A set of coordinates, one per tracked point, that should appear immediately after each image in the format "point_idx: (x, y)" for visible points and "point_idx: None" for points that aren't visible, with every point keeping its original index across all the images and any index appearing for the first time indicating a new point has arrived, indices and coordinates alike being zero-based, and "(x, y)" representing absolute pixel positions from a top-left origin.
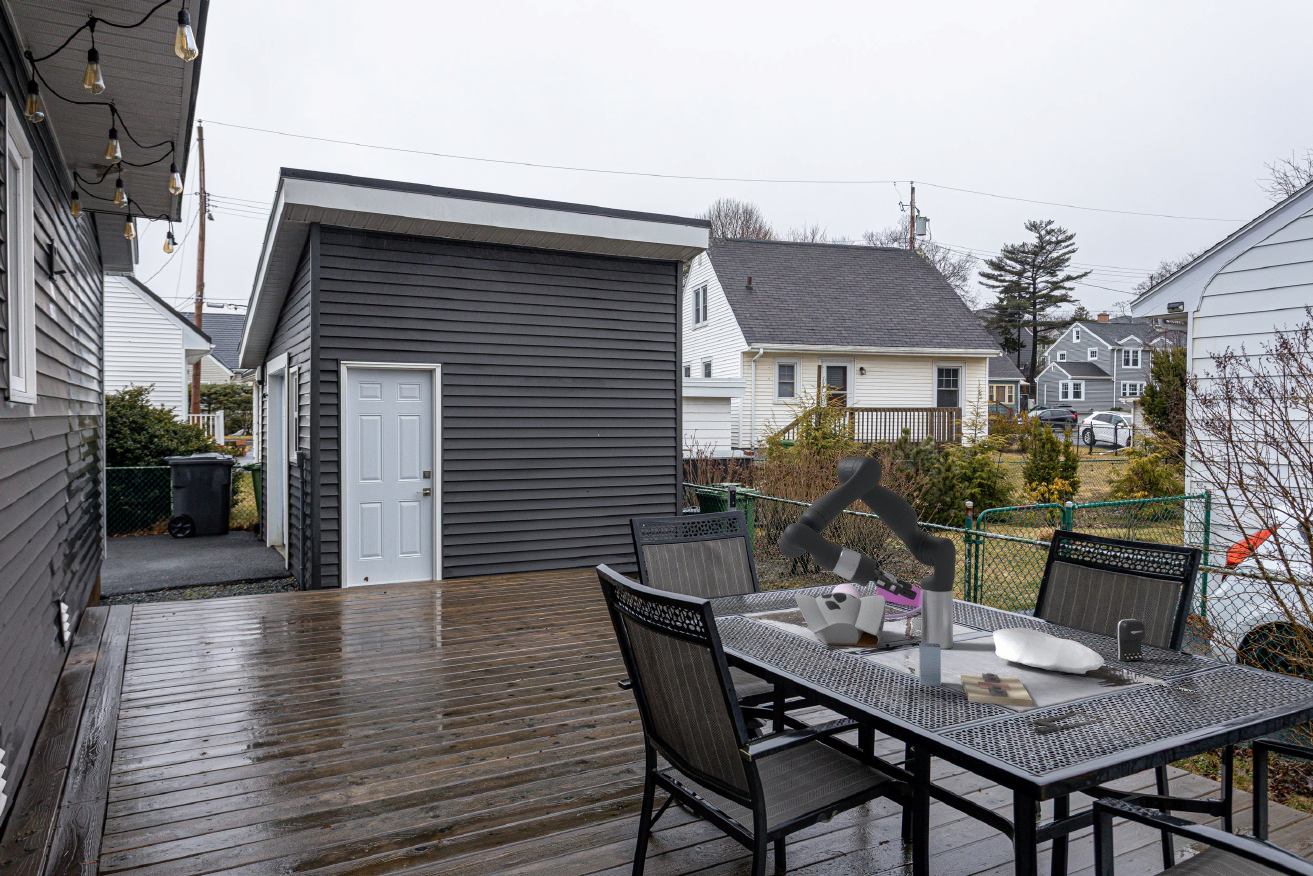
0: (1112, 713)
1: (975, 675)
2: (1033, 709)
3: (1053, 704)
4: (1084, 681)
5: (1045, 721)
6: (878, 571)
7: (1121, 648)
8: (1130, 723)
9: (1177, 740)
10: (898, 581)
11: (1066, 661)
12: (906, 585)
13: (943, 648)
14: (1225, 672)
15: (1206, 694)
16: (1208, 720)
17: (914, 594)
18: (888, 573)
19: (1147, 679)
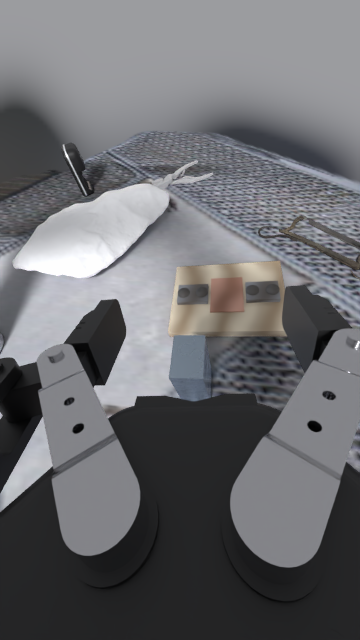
0: (273, 209)
1: (173, 312)
2: (291, 266)
3: (259, 248)
4: (160, 220)
5: (348, 258)
6: (49, 582)
7: (83, 182)
8: (303, 201)
9: (341, 180)
10: (89, 355)
11: (151, 212)
12: (112, 323)
13: (2, 344)
14: (126, 153)
15: (189, 162)
16: (265, 164)
17: (317, 299)
18: (103, 415)
19: (163, 181)
